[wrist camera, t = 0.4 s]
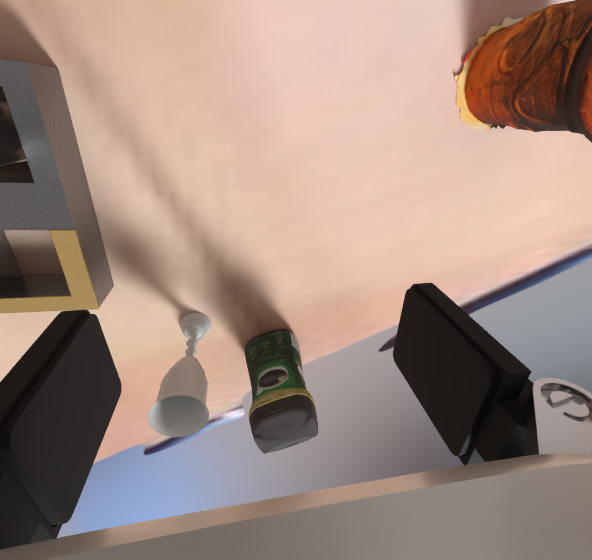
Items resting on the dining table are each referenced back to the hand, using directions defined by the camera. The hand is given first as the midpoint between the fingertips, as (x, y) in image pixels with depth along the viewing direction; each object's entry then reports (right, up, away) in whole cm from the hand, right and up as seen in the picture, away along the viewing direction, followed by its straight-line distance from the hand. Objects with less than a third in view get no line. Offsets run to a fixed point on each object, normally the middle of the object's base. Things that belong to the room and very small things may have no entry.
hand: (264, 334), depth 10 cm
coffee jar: (-3, -11, +48) cm, 49 cm away
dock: (-32, +12, +29) cm, 45 cm away
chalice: (-16, -6, +43) cm, 46 cm away
